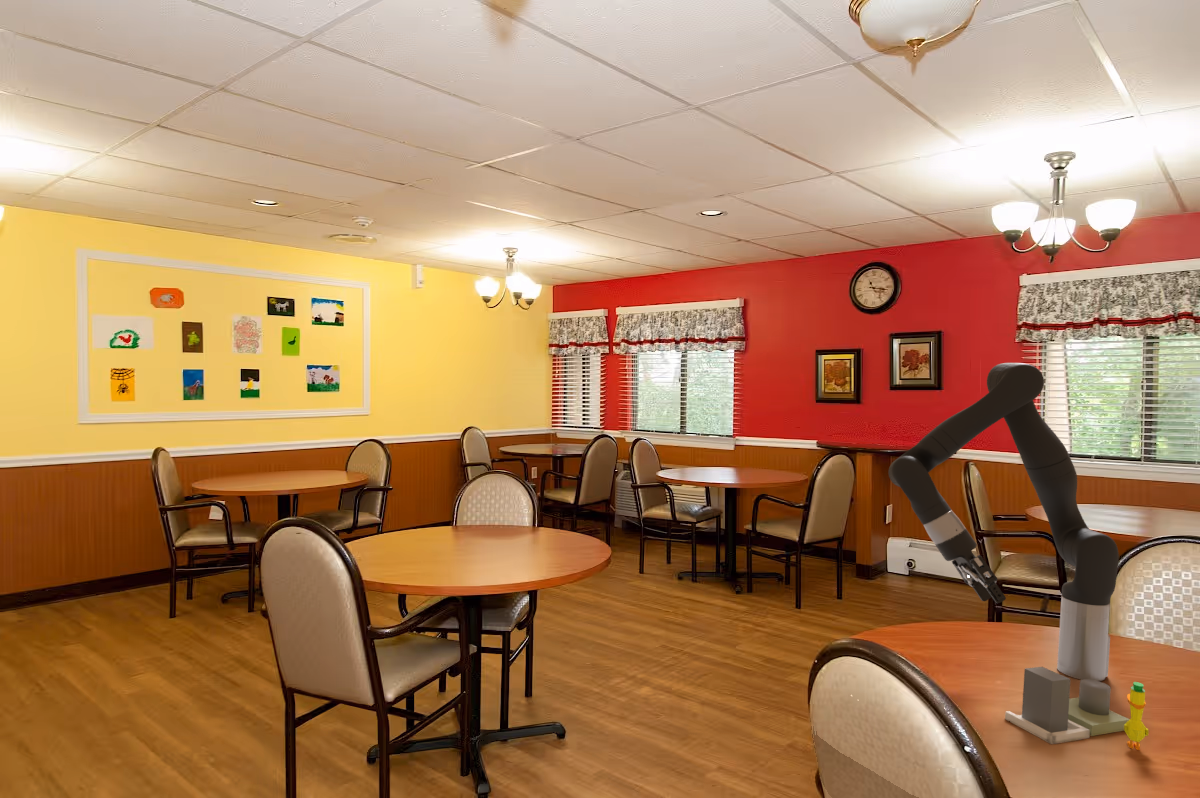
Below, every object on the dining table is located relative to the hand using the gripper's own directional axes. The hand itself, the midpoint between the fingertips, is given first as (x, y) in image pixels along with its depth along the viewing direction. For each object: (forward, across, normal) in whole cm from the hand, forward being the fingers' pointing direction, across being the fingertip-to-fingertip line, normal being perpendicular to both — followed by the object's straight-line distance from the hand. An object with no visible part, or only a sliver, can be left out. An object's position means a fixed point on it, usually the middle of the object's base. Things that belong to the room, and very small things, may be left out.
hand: (994, 600), depth 159 cm
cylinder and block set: (+23, -12, +5) cm, 27 cm away
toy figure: (+29, -19, -1) cm, 35 cm away
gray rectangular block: (+20, -15, +10) cm, 27 cm away
